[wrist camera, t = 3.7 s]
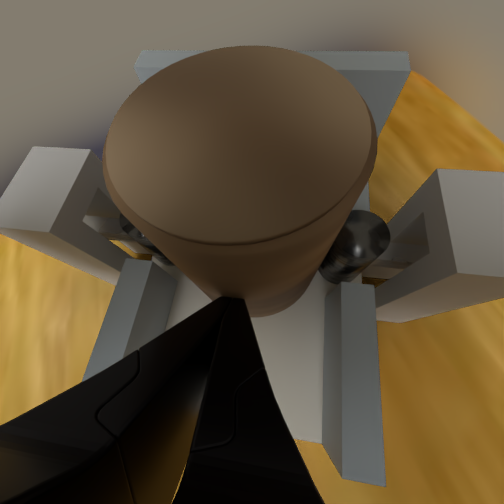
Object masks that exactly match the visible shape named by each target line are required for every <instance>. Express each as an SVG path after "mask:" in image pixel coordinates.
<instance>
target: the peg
mask: <svg viewBox="0 0 504 504" xmlns="http://www.w3.org/2000/svg"><path fill="white" fill-rule="evenodd" d="M376 155H377V132H376V125H375V122H374V119H373V116H372V113H371V111H370V109H369V108H368V106H367V104H366V102H365V100H364V99H363V98H362V96H361V95H360V94H359V92H358V91H357V90H356V89H355V88H354V86H353V85H352V84H351V83H350V82H349V81H348V80H347V79H346V78H345V77H344V76H343V75H342V74H340V73H339V72H338V71H336V70H335V69H334V68H332V67H330V66H329V65H327V64H325V63H324V62H322V61H320V60H318V59H315V58H313V57H311V56H308V55H305V54H302V53H299V52H296V51H291V50H287V49H283V48H276V47H269V46H236V47H226V48H220V49H215V50H211V51H206V52H202V53H199V54H196V55H193V56H190V57H187V58H184V59H182V60H180V61H178V62H175V63H173V64H171V65H169V66H167V67H166V68H164V69H162V70H160V71H159V72H157V73H156V74H154V75H153V76H151V77H150V78H148V79H147V80H146V81H145V82H143V83H142V84H141V85H140V86H139V87H138V88H137V89H136V90H135V91H134V92H133V93H132V94H131V95H130V96H129V97H128V98H127V99H126V101H125V102H124V103H123V104H122V106H121V107H120V109H119V111H118V112H117V114H116V115H115V117H114V120H113V122H112V124H111V127H110V129H109V132H108V134H107V137H106V141H105V145H104V149H103V160H102V165H103V176H104V179H105V183H106V187H107V190H108V192H109V194H110V196H111V198H112V200H113V202H114V203H115V205H116V206H117V208H118V209H119V210H120V212H121V213H122V214H123V215H124V216H125V217H126V218H127V219H128V220H129V221H130V222H131V223H132V224H133V225H134V226H135V227H136V228H137V229H138V230H139V231H140V232H141V233H142V234H143V235H144V236H145V237H146V238H147V239H148V240H150V241H151V242H152V243H153V244H154V245H155V246H156V247H157V248H158V249H159V250H160V251H161V252H162V253H163V254H164V255H165V256H166V257H167V258H168V259H169V260H170V261H171V262H172V263H173V264H174V265H176V266H177V267H178V268H179V269H180V270H181V271H182V272H183V273H184V274H185V275H186V276H187V277H188V278H189V279H190V280H191V281H192V282H193V283H194V284H195V285H196V286H197V287H198V288H199V289H201V290H202V291H203V292H204V293H205V294H206V295H207V296H208V297H209V298H210V299H211V300H212V301H214V300H215V299H217V298H218V297H220V296H225V297H231V298H232V299H233V298H242V299H245V301H246V305H247V308H248V311H249V315H250V317H265V316H270V315H273V314H276V313H279V312H281V311H283V310H285V309H287V308H288V307H290V306H291V305H293V304H294V303H295V302H296V301H297V300H298V299H300V297H301V296H302V295H303V294H304V293H305V291H306V289H307V288H308V286H309V285H310V283H311V281H312V279H313V277H314V276H315V274H316V272H317V270H318V269H319V267H320V265H321V263H322V262H323V260H324V258H325V256H326V255H327V253H328V251H329V249H330V248H331V246H332V244H333V242H334V240H335V239H336V237H337V235H338V233H339V232H340V230H341V228H342V226H343V225H344V223H345V221H346V219H347V218H348V216H349V214H350V212H351V210H352V209H353V207H354V205H355V203H356V202H357V200H358V198H359V196H360V195H361V193H362V191H363V189H364V188H365V186H366V184H367V182H368V180H369V177H370V175H371V173H372V170H373V168H374V164H375V159H376Z"/></svg>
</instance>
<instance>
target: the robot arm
mask: <svg viewBox="0 0 504 504" xmlns="http://www.w3.org/2000/svg"><path fill="white" fill-rule="evenodd" d="M186 462H187V463H186ZM185 464H186V467H185ZM184 467H185V470H184ZM183 470H184V474H183V477H182V480H181V483H180V486H179V489H178V491H177V493H176V496H175V498H174V500H173V497H174V494H175V491H176V489H177V486H178V483H179V481H180V478H181V475H182V472H183ZM172 500H173V502H172ZM171 502H172V504H325V503H324V501H323V499H322V497H321V496H320V494H319V492H318V490H317V488H316V486H315V484H314V482H313V480H312V478H311V476H310V474H309V471H308V469H307V467H306V465H305V463H304V461H303V458H302V456H301V454H300V452H299V450H298V448H297V445H296V443H295V441H294V439H293V437H292V435H291V433H290V430H289V428H288V426H287V424H286V422H285V420H284V417H283V415H282V413H281V410H280V408H279V405H278V403H277V401H276V398H275V395H274V393H273V390H272V387H271V384H270V381H269V378H268V374H267V371H266V369H265V365H264V362H263V358H262V355H261V351H260V348H259V345H258V341H257V338H256V335H255V331H254V328H253V325H252V321H251V318H250V315H249V311H248V308H247V305H246V301H245V299H242V298H233V299H232V298H231V297H225V296H220V297H218V298H217V299H215V300H214V301H212V302H211V303H209V304H207V305H206V306H204V307H203V308H201V309H200V310H198V311H196V312H195V313H193V314H192V315H190V316H189V317H187V318H185V319H184V320H182V321H181V322H179V323H178V324H176V325H174V326H173V327H171V328H170V329H168V330H167V331H165V332H163V333H162V334H160V335H159V336H157V337H156V338H154V339H153V340H151V341H149V342H148V343H146V344H145V345H143V346H142V347H140V348H139V350H138V349H137V350H135V351H134V352H132V353H130V354H129V355H127V356H126V357H124V358H122V359H121V360H119V361H118V362H116V363H114V364H113V365H111V366H109V367H108V368H106V369H104V370H103V371H101V372H99V373H97V374H95V375H94V376H92V377H90V378H88V379H87V380H85V381H83V382H81V383H79V384H78V385H76V386H74V387H72V388H70V389H68V390H66V391H65V392H63V393H61V394H59V395H57V396H55V397H53V398H52V399H50V400H48V401H46V402H44V403H42V404H41V405H39V406H37V407H35V408H33V409H31V410H29V411H28V412H26V413H24V414H22V415H20V416H18V417H16V418H15V419H13V420H11V421H9V422H7V423H5V424H2V425H0V504H171Z"/></svg>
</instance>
